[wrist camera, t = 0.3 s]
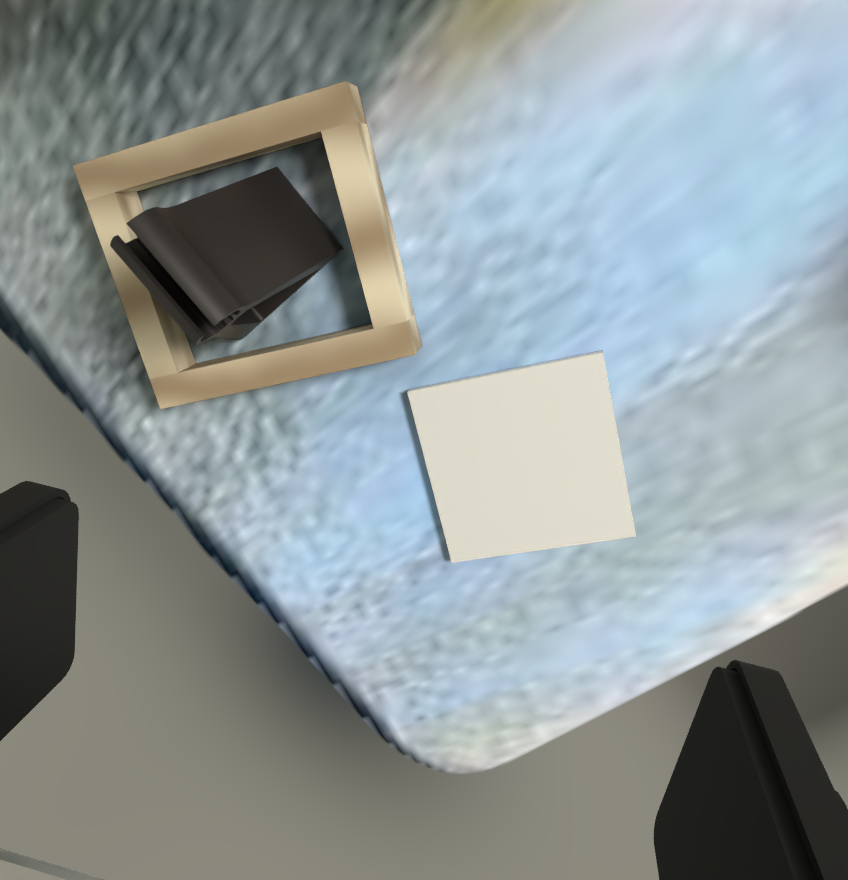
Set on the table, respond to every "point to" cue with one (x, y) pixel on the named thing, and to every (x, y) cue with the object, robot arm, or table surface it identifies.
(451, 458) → the cream mat
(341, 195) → the wooden frame
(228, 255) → the phone stand
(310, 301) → the table surface
